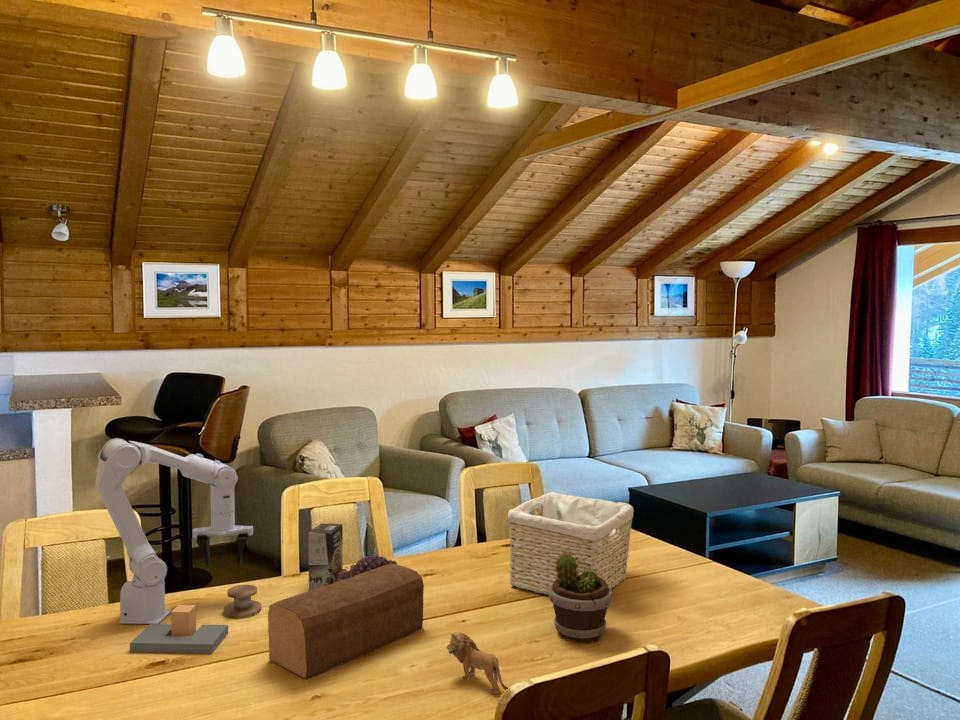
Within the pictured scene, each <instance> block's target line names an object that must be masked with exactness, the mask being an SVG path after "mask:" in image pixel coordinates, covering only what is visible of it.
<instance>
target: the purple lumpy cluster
mask: <svg viewBox="0 0 960 720" xmlns="http://www.w3.org/2000/svg"><path fill="white" fill-rule="evenodd" d="M391 563H392V564H397V565H398V562H396V561H395V560H392V559H387V558H386V557H383V556H382V555H381V556H378V555H374V554H373V555H368V556H367V555H366V556H365V557H362V558H360V559H359V560H358V561H357V562H356V563H355V564H354V563H353V564H351V565H349V567H350V568H349V570H347V568H344V569H343V570H342V571H341V573H339V574H337V576H340V578H341V579H342V580H345V579H348V578H351V577H354V576H356V575H359V574H362V573H364V572H367V571H370V570H373V569H376V568H379V567H381V566H384V565H388V564H391Z"/></svg>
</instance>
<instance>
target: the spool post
mask: <svg viewBox="0 0 960 720" xmlns="http://www.w3.org/2000/svg"><path fill="white" fill-rule="evenodd" d="M257 593H258V588H257V586H255V585H252V584H240V585H235V586H232V587H229V588H228V589H227V595H226V596H227V597H228V598H231V599H233V601H231V602H229V603H227V604H226V605H224V606H223V608H222V610H223V612H222V613H224V614H223V616H225V617H226V616H228V617H227V618H230V617H232V618H231V619H245V617H246V618H250V617H252V616H255V614H256V615H257V613H258V614H259V613H260V612H261V611H262V603H261V602H260V601H257V600H254V599H252V596H255V595H256V594H257Z"/></svg>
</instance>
